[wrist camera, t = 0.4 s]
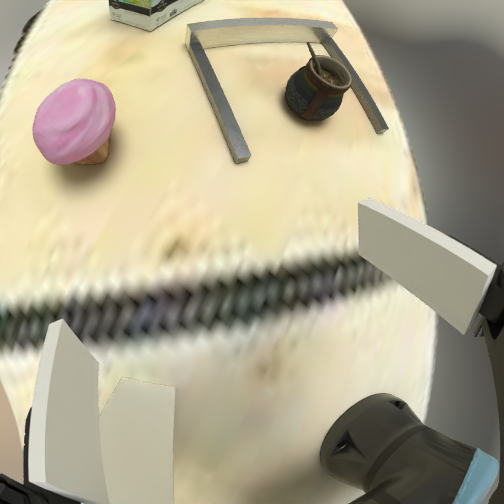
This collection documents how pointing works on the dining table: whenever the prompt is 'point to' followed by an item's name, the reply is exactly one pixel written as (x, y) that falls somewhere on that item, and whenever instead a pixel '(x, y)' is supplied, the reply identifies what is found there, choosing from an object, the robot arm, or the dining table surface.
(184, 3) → the tea box
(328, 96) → the mate gourd
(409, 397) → the dining table surface
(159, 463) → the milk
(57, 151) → the cupcake
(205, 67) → the u-shaped bar frame
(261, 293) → the dining table surface
